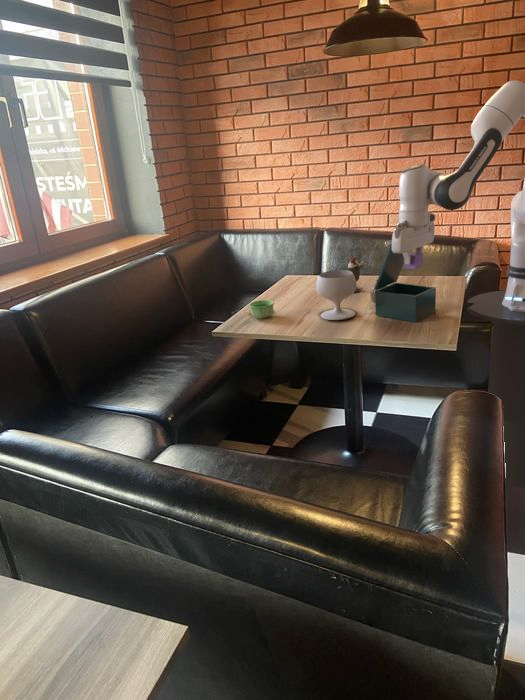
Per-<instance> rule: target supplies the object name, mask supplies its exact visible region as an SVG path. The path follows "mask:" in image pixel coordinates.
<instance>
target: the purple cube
mask: <svg viewBox="0 0 525 700" xmlns="http://www.w3.org/2000/svg"><path fill="white" fill-rule="evenodd" d="M423 254H424V253H423V252H422V253H416V251H415V252H414V251H411V253H410V258H412V263H411V264H405V258H404V264H403V269H408V270H409V269H410V270H417V269H419V268H422V267H423V265H424V264H423V263H424V259H423V257H424V256H423Z"/></svg>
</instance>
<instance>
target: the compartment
mask: <svg viewBox="0 0 525 700" xmlns="http://www.w3.org/2000/svg"><path fill="white" fill-rule="evenodd" d="M436 299H437V287H434V286H428V285H420V284H411V283H403V282H395V283H392V284H390V285H387V286H386V287H384V288H381V289H379V290H376V291H375V302H376V304H375V316H378V317H383V318H387V319H393V320H399V321H405V322H411V323H418V322H420V321H422V320H424V319H426V318H428V317H429V316H431V315H433V314H435V313H436V302H437V301H436Z"/></svg>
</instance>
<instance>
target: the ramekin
mask: <svg viewBox="0 0 525 700" xmlns="http://www.w3.org/2000/svg"><path fill="white" fill-rule="evenodd" d="M248 305H249V309H250V313H251V316H252V317H253V318H257V319H260V318H262V319H263V318H267V317H270V316H272V315H274V301H273V300H272V299H271V300H269V299H261V300H256V301H255V300H254V301H252V302H250V303H249V304H248Z"/></svg>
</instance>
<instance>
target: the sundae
mask: <svg viewBox="0 0 525 700" xmlns="http://www.w3.org/2000/svg"><path fill="white" fill-rule="evenodd" d="M353 256H354V254H352V255H351V260H350V261H349V263H348V264H347V265H346V266H345V268H346V270H347V271H351V272H352V273H353V274H354V276H355V279H356V283H357V282H358V281H359V280H360V277H361V268H363V265H362V264H361V261H360V260H358V259H356V258H355V257H353ZM361 290H362V289H361V288H358V287H357V288H356V290H355V292H354V293H358V292H361Z"/></svg>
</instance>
